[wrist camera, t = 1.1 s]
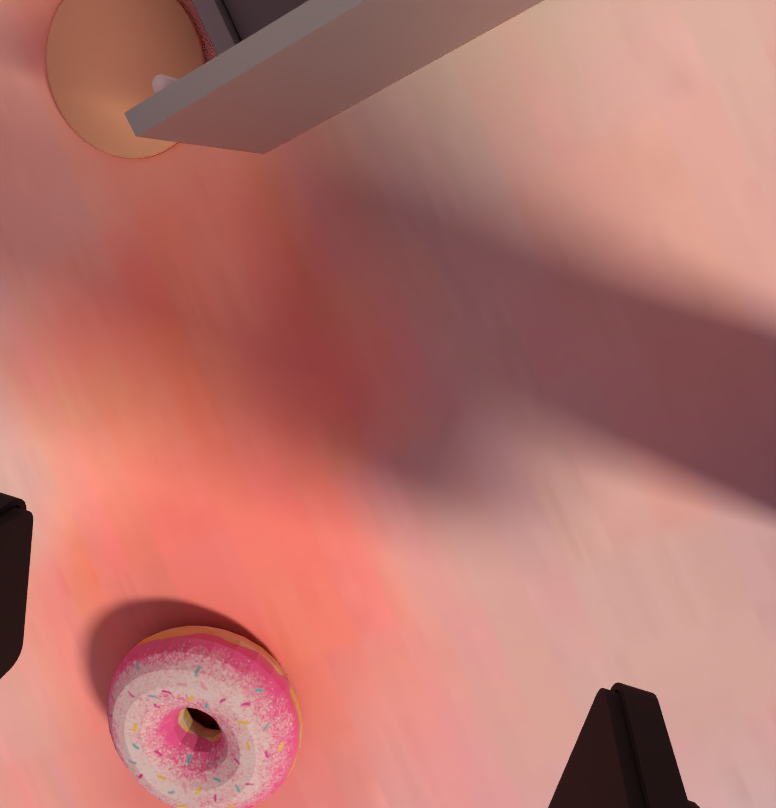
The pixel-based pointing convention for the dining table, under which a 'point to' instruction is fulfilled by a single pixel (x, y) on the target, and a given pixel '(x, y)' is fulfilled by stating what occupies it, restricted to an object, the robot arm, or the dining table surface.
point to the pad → (117, 65)
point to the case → (303, 64)
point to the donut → (218, 697)
